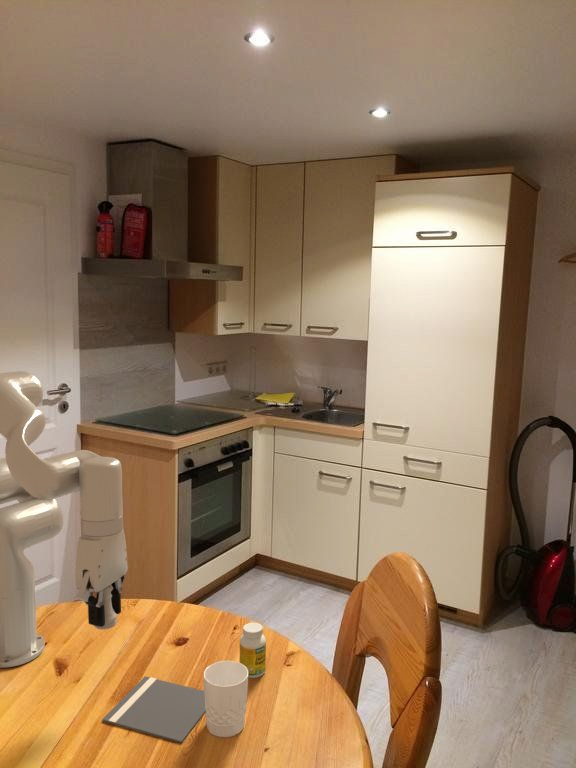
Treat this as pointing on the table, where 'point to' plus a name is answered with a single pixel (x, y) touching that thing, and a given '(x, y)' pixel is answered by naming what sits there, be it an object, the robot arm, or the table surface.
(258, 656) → the supplement bottle
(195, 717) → the mat
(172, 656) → the table surface
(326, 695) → the table surface
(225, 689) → the white cup
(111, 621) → the rook chess piece
